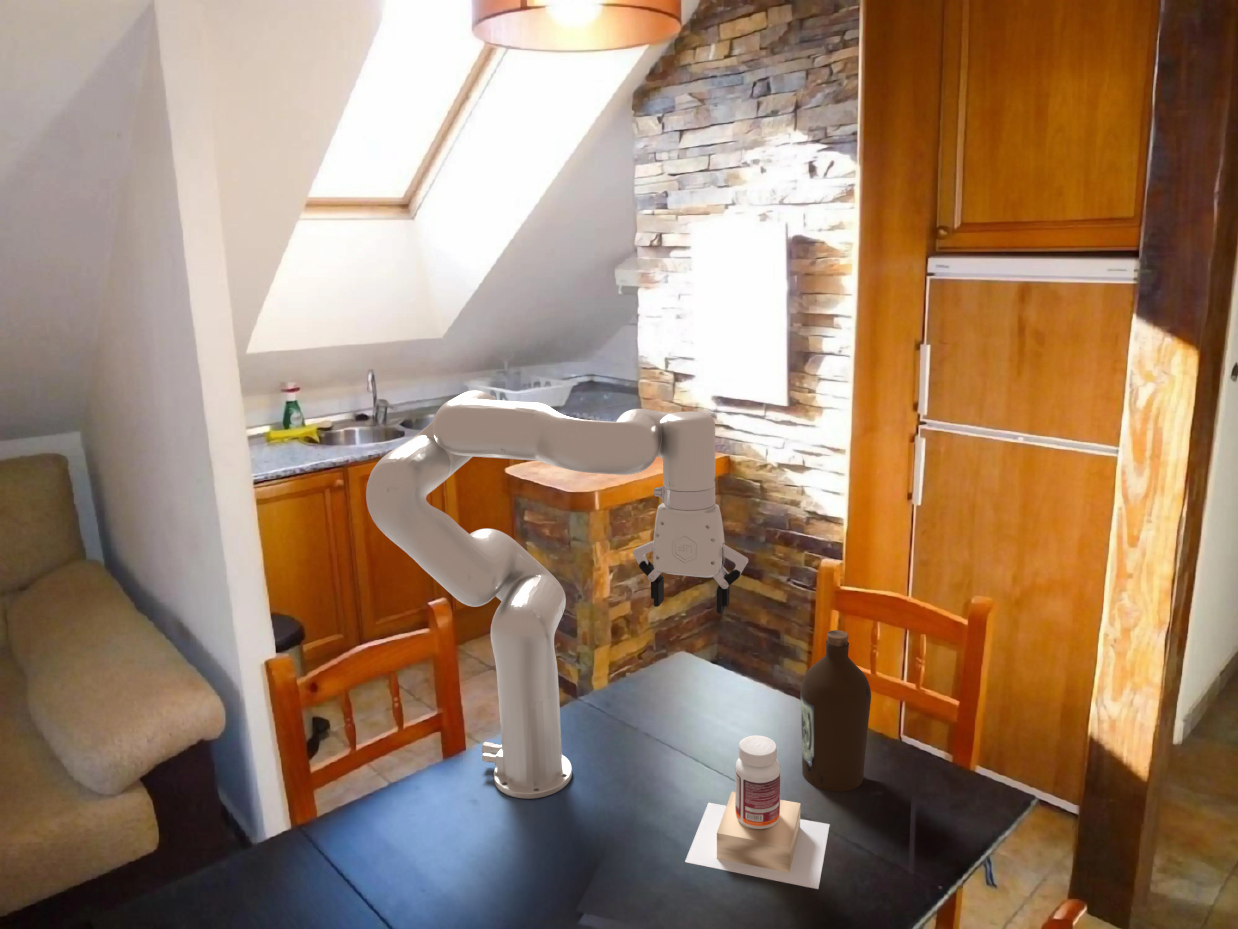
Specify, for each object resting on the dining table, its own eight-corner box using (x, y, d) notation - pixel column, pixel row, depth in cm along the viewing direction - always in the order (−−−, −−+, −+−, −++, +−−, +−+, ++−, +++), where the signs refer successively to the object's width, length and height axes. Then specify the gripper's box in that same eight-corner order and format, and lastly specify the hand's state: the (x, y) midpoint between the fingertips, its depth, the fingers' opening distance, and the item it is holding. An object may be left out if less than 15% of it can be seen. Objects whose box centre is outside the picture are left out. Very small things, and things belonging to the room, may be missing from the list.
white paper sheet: (684, 868, 123) (684, 862, 123) (708, 808, 136) (708, 802, 136) (818, 895, 118) (818, 889, 117) (829, 830, 130) (829, 824, 130)
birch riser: (716, 858, 124) (716, 833, 123) (731, 815, 133) (731, 791, 132) (789, 873, 120) (790, 847, 119) (799, 827, 130) (800, 803, 129)
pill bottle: (788, 820, 125) (790, 747, 122) (755, 837, 122) (756, 762, 119) (758, 798, 130) (760, 728, 127) (726, 814, 127) (726, 742, 124)
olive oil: (859, 761, 147) (865, 619, 141) (873, 800, 137) (881, 649, 131) (794, 760, 148) (797, 619, 142) (803, 799, 138) (807, 649, 132)
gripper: (624, 500, 130) (627, 610, 134) (743, 508, 124) (742, 623, 128) (640, 486, 137) (642, 592, 141) (753, 494, 131) (751, 603, 135)
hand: (689, 606), depth 135 cm, fingers open, 9 cm apart
